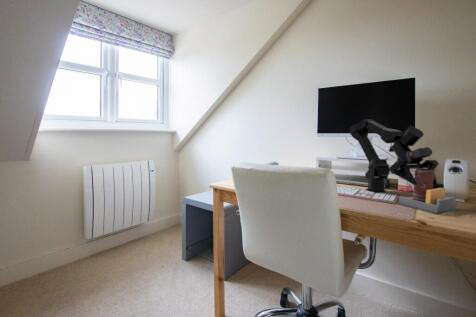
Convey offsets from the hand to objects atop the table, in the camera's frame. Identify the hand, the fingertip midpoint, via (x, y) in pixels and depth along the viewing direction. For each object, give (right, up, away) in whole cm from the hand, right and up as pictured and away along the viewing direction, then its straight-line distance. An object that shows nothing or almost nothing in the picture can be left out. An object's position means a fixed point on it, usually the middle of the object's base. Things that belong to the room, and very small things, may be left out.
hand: (425, 183), depth 100 cm
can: (+1, -8, +3) cm, 9 cm away
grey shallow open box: (+1, -9, +1) cm, 9 cm away
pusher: (+2, -9, -2) cm, 10 cm away
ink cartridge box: (+12, -6, +29) cm, 32 cm away
